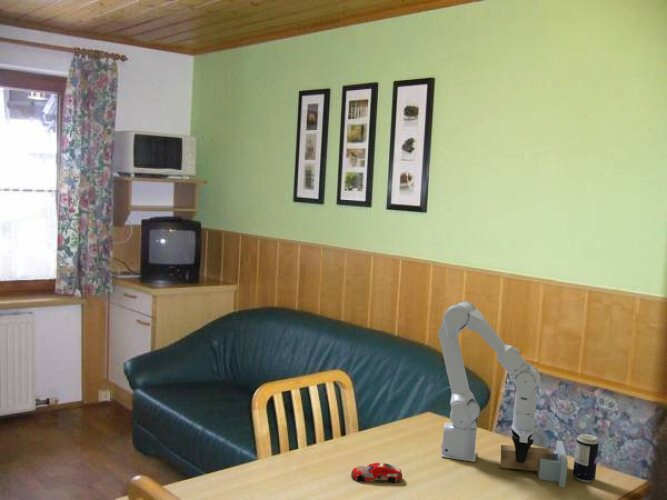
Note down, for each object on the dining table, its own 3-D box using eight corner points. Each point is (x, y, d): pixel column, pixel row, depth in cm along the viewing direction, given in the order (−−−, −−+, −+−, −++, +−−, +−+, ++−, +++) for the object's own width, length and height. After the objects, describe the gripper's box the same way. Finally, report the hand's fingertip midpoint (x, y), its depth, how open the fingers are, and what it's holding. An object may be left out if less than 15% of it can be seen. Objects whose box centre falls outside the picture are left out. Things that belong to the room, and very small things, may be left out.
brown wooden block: (500, 467, 193) (501, 449, 193) (500, 462, 197) (501, 444, 197) (553, 471, 190) (554, 454, 190) (552, 466, 194) (553, 448, 193)
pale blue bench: (539, 483, 185) (542, 458, 184) (536, 461, 201) (538, 437, 200) (565, 487, 184) (567, 461, 183) (560, 465, 199) (562, 441, 199)
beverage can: (596, 484, 187) (600, 441, 186) (574, 481, 188) (578, 438, 187) (592, 476, 192) (597, 434, 191) (571, 473, 193) (575, 431, 192)
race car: (351, 482, 179) (352, 467, 178) (350, 474, 184) (351, 459, 184) (402, 485, 179) (403, 470, 178) (400, 476, 184) (401, 461, 184)
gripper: (541, 421, 185) (536, 471, 186) (538, 405, 199) (533, 452, 200) (513, 417, 186) (509, 467, 187) (512, 402, 200) (508, 448, 201)
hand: (520, 459), depth 194 cm, fingers closed on brown wooden block, 4 cm apart
